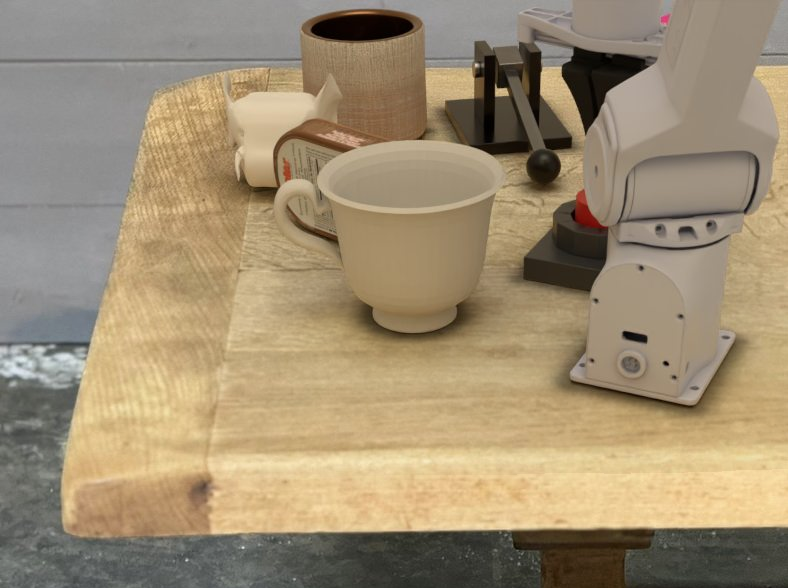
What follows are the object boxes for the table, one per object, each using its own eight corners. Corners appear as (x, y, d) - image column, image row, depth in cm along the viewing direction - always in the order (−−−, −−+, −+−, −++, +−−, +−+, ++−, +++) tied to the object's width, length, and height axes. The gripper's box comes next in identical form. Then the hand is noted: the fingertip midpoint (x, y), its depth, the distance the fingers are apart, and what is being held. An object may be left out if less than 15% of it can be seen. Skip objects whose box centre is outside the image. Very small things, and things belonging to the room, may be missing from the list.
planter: (301, 157, 114) (293, 44, 109) (310, 115, 123) (303, 9, 118) (426, 155, 114) (425, 41, 108) (427, 112, 123) (425, 6, 117)
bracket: (571, 147, 114) (576, 62, 110) (469, 156, 113) (469, 70, 109) (539, 103, 124) (542, 23, 120) (444, 110, 123) (444, 30, 119)
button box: (631, 299, 90) (635, 251, 88) (522, 279, 93) (524, 232, 91) (674, 243, 98) (679, 198, 96) (572, 226, 101) (574, 182, 99)
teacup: (284, 282, 94) (272, 145, 88) (492, 271, 95) (494, 134, 89) (282, 364, 84) (268, 217, 79) (514, 352, 85) (518, 204, 79)
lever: (562, 190, 107) (566, 160, 105) (528, 192, 106) (531, 163, 104) (518, 71, 118) (520, 42, 116) (487, 73, 117) (489, 45, 115)
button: (621, 235, 92) (622, 211, 91) (566, 226, 93) (567, 202, 92) (639, 214, 94) (641, 190, 93) (586, 205, 96) (587, 182, 95)
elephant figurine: (208, 210, 105) (195, 99, 100) (244, 156, 115) (234, 52, 110) (326, 213, 104) (319, 101, 99) (352, 158, 114) (347, 54, 109)
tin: (444, 261, 96) (443, 149, 91) (415, 276, 94) (413, 162, 90) (299, 210, 105) (291, 105, 100) (270, 223, 103) (261, 116, 98)
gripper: (755, -41, 82) (729, 169, 90) (563, -70, 90) (555, 125, 98) (695, -17, 78) (673, 201, 86) (499, -50, 86) (496, 153, 94)
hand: (606, 163), depth 91 cm, fingers closed
